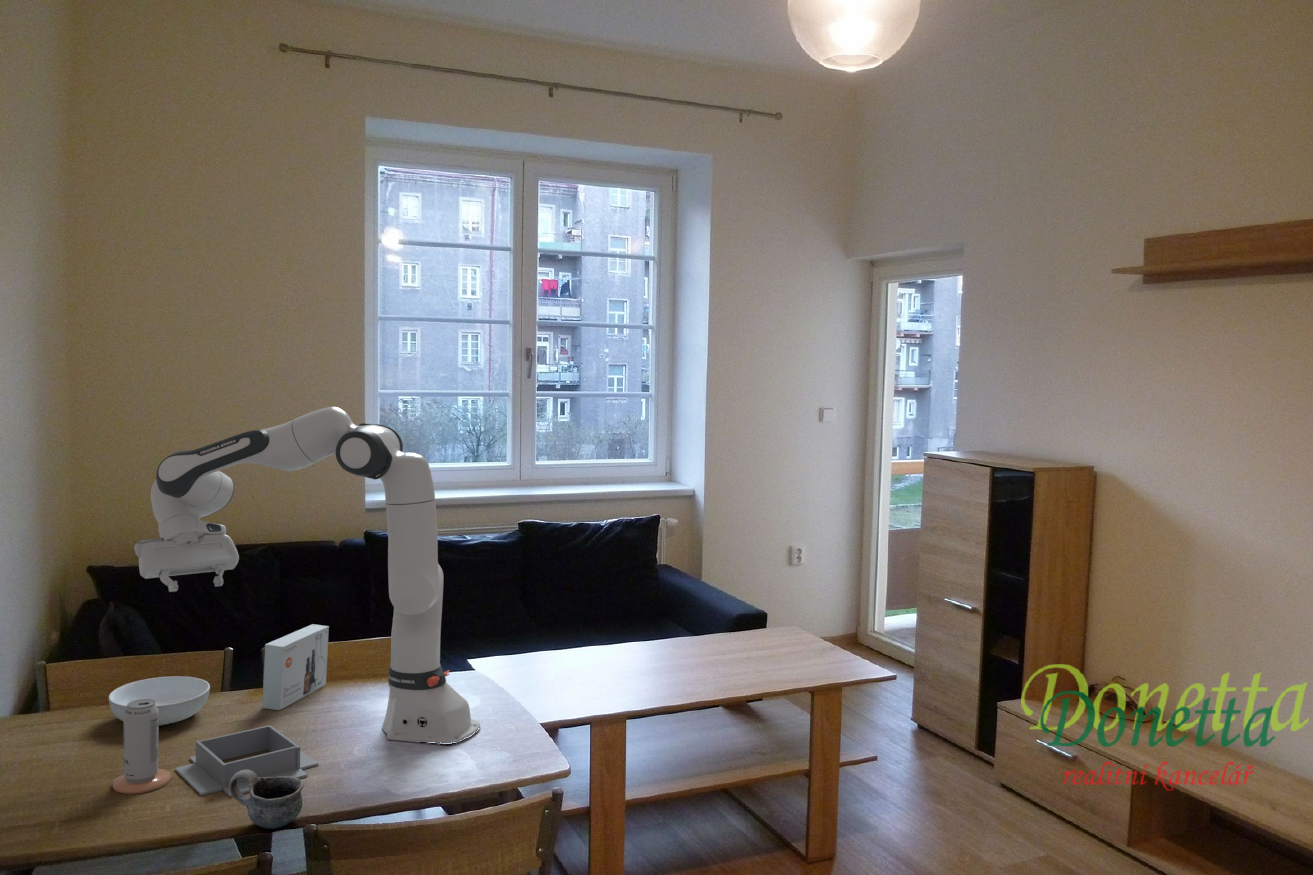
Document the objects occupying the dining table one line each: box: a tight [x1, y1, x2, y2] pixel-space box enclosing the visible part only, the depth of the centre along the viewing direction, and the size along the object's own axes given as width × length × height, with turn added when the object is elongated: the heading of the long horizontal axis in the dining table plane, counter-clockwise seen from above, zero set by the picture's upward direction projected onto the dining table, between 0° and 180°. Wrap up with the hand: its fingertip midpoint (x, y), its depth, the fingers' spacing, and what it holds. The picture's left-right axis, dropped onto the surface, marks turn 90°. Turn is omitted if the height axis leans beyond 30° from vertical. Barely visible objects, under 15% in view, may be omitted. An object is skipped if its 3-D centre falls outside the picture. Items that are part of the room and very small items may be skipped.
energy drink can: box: [122, 699, 159, 784], centre depth 188 cm, size 6×6×15 cm
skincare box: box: [261, 623, 330, 711], centre depth 240 cm, size 21×5×16 cm, turn 168°
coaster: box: [112, 768, 172, 795], centre depth 188 cm, size 10×10×1 cm
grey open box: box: [174, 724, 319, 798], centre depth 197 cm, size 23×23×5 cm
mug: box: [229, 770, 305, 830], centre depth 173 cm, size 10×12×10 cm
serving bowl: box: [108, 675, 211, 727], centre depth 222 cm, size 21×21×7 cm
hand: (197, 587), depth 211 cm, fingers open, 8 cm apart
